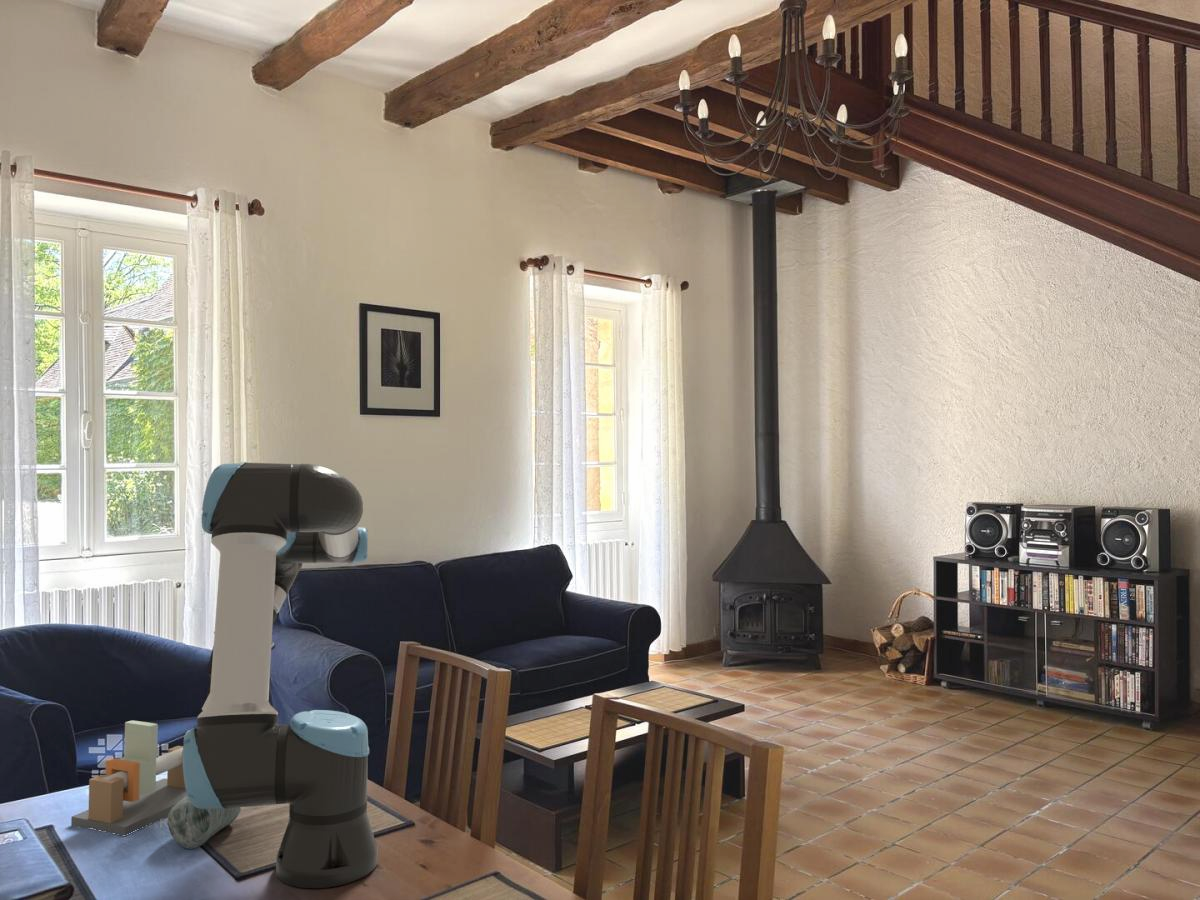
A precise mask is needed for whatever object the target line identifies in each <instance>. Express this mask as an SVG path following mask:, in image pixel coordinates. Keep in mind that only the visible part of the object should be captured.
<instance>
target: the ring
mask: <svg viewBox="0 0 1200 900" xmlns="http://www.w3.org/2000/svg"><path fill="white" fill-rule="evenodd" d="M117 770H122V771H128V790H124V789H123V800H124V801H130V802H135V801H137V800H139V772H140V763H138V762H132V761H126V760H120V759H119V758H114V757H111V758H108V759H106V760H105V775H106V776H109V775H112V774H115V773H117Z"/></svg>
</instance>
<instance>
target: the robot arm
mask: <svg viewBox="0 0 1200 900" xmlns="http://www.w3.org/2000/svg"><path fill="white" fill-rule="evenodd" d="M201 511H202V515H201V528H202V530H203V532H204V533H207V534H209V535H211V538H210V543H211V544H212V545H213V546H214V547H215V549H217V551H219V555H220V556H219V565H218V566H219V568H218V581H217V592H216V596H217V597H216V607H215V623H214V631H213V634H214V637H213V646H212V650H211V653H210V657H209V661H208V665H207V669H206V673H207V675H209V677H210V684H209V686H208V688H207V690H206V695H207V698H206V700H205V701H204V704H203V706H202V707H201V710H202V711H201V712H200V713H199V714H198V715H197V718H196V719H197V721H196V727H192V728H191V729H189V730H187V731H186V732H185V734H184V737H183V745H182V746H183V774H184V782H185V788H186V792H187V796H188V799H189V801H190V803H191V804H192V805H193V806H194V807H196V808H199V809H222V810H224V809H227V808H237V807H241V808H246V807H247V808H249V807H259V806H260V807H261V806H271V805H273V806H274V805H286V804H289V811H288V812H289V813H288V814H289V815H288V822H287V826H286V828H285V831H284V834H283V837H282V840H281V842H280V846H279V849H278V851H277V854H276V858H275V859H276V861H275V863H276V864H275V874H276V877H277V878H278V880H279V881H281V882H282V883H284V884H286V885H289V886H292V887H295V888H296V887H297V888H303V889H324V888H332V887H333V888H334V887H339V886H342V885H343V886H344V885H346V884H350V883H353V882H356V881H358V880H360V879H362V878H364V877H365V876H367V875H369V874H370V873H371V872H372V871H374V869H375V868H376V866H377V865H378V858H379V857H378V856H379V855H378V853H379V852H378V849H379V848H378V843H377V841H376V839H375V836H374V832H373V828H372V825H371V822H370V819H369V815H368V756H369V754H370V747H369V737H368V735H369V732H368V731H369V730H368V726H367V725H366V723H365V722H364V721H363V720H362V719H361V718H359V717H357V716H355V715H354V714H353V715H352V714H350V713H346V712H343V711H337V710H329V709H328V710H327V709H325V710H324V709H313V710H309V711H300V712H297V713H295V714H294V715H293V716H292V717H291V719H290V720H289V724H287V723H286V724H279V723H278V720H279V719H278V717H279V712H278V711H277V710H276V709H275V708H274V707H273V706H272V705H271V703H270V702H269V699H270V698H269V697H270V695H269V694H270V679H271V678H270V677H271V662H272V651H273V650H274V649H275V648H276V644H275V643H274V641H273V625H274V623H275V621H276V619H277V617H278V613H280V610H281V608H282V606H283V604H284V602H285V600H286V599H287V596H288V594H289V591H291V590H290V589H291V587H292V586H293V583H294V582H295V580H296V578H297V576H298V573H299V572H300V570H301V569H302V567H303V564H319V563H321V564H324V563H325V564H327V563H328V564H329V563H331V564H332V563H338V564H339V563H341V564H342V563H343V564H344V563H347V564H353V563H363V562H366V560H367V559H368V547H369V546H368V545H369V544H368V541H369V540H368V539H369V534H368V533H369V532H368V529H367V528H366V527H361V526H359V523H360V521H361V520H362V517H363V513H364V503H363V499H362V496H361V493H360V491H359V490H358V489H357V487H356V486H355V485H354V484H353V483H352V482H351V480H350V479H348V478H346V477H345V476H344V475H342V474H340V473H339V472H336V471H335V470H333V469H331V468H330V469H329V468H328V467H325V466H321V465H318V464H312V463H277V462H276V463H272V462H271V463H270V462H269V463H268V462H267V463H266V462H265V463H264V462H246V461H244V462H243V461H242V462H239V463H238V462H237V463H222V464H219V465H218V466H216V467H215V468H214V469H213V471H212V472H211V474H210V476H209V477H208V480H207V483H206V487H205V491H204V495H203V500H202V507H201Z"/></svg>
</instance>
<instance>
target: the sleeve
mask: <svg viewBox="0 0 1200 900" xmlns="http://www.w3.org/2000/svg"><path fill="white" fill-rule="evenodd" d="M158 735H159V724H158V723H154V722H147V721H139V720H129V721H125V722H124V752H123V753H124V756H122V757H120V758H118V759H120V760H126V761H132V762H138V763H140V772H139V796H141V795H143V794H146V793H148V792H150V791H153V790H155V789H156V781H157V775H156V758H157V757H158V739H159V738H158ZM120 771H122V770H117V772H120ZM124 790H128V788H124Z"/></svg>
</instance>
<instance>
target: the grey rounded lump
mask: <svg viewBox="0 0 1200 900" xmlns="http://www.w3.org/2000/svg"><path fill="white" fill-rule="evenodd" d="M241 808H242V807H237V808H227V809H224V810H222V809H199V808H196V807H194V806H193V805H192V804H191V803H190V801H189V799H188V796H187V795H186V796H185V797H184V798H182V799H181V800H180V801H179V802H178V803H177V804H176V805H175V806H173V807H172V809H171V810H170V812H169V814H168V816H167V817H166V818H167V827H168V830H169V833H170V835H171V837H172V839H174V840H175V842H176V843H177V844H178V845H179V846H181V847H183V848H185V849H190V850H191V849H195V848H198V847H201V846H202V845H204V844H205V843H207V841H208V840H209V839H210V838H212V837H213V836H215V835H216V834H217V833H218V832H219V831H221V830H222V829H225V828H226V827H227V826H229V825H230V824H232V823H233V822H234V821H235V820H236V819H237V818H238V816H239V814H240V812H241Z"/></svg>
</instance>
